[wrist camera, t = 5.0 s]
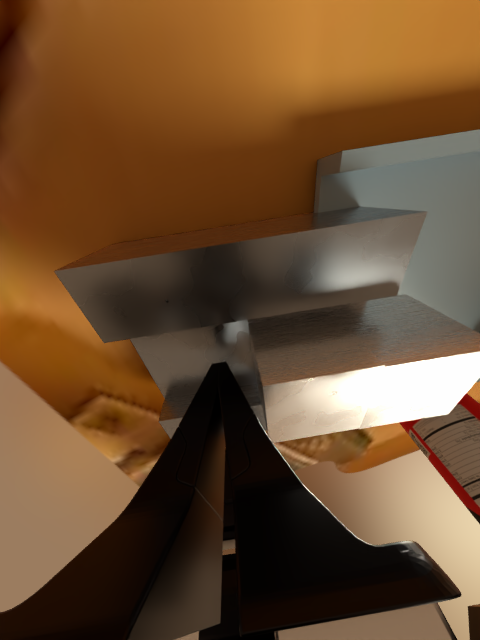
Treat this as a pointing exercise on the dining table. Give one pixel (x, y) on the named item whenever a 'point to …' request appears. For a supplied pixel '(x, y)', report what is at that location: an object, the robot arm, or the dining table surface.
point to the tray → (421, 195)
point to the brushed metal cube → (413, 357)
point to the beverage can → (453, 448)
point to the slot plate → (235, 289)
